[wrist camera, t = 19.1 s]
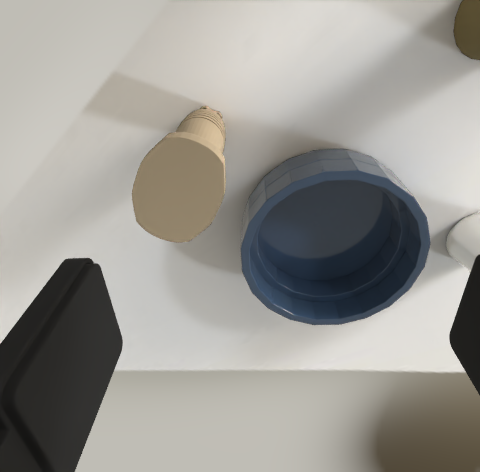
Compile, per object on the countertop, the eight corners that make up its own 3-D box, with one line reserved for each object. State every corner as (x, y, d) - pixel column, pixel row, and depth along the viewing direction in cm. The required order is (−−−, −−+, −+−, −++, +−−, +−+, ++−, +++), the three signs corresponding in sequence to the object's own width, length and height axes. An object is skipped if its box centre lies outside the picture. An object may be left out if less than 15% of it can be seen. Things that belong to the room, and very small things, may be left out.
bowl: (238, 150, 34) (236, 175, 29) (420, 143, 34) (450, 167, 28) (246, 288, 43) (245, 326, 38) (391, 285, 42) (410, 323, 37)
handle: (246, 101, 32) (241, 161, 19) (218, 165, 35) (198, 252, 22) (194, 76, 31) (153, 122, 18) (170, 144, 34) (121, 223, 22)
